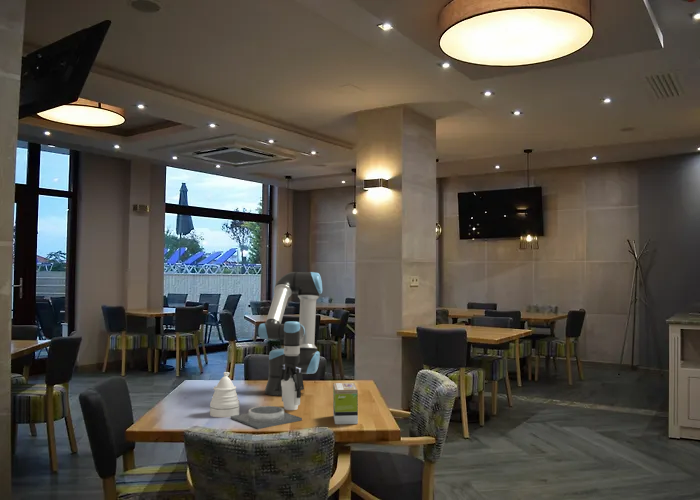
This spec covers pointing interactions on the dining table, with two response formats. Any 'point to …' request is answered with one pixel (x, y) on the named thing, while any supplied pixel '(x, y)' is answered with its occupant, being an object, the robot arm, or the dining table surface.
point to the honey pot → (224, 399)
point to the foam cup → (288, 394)
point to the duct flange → (265, 417)
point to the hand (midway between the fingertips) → (290, 402)
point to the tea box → (345, 403)
